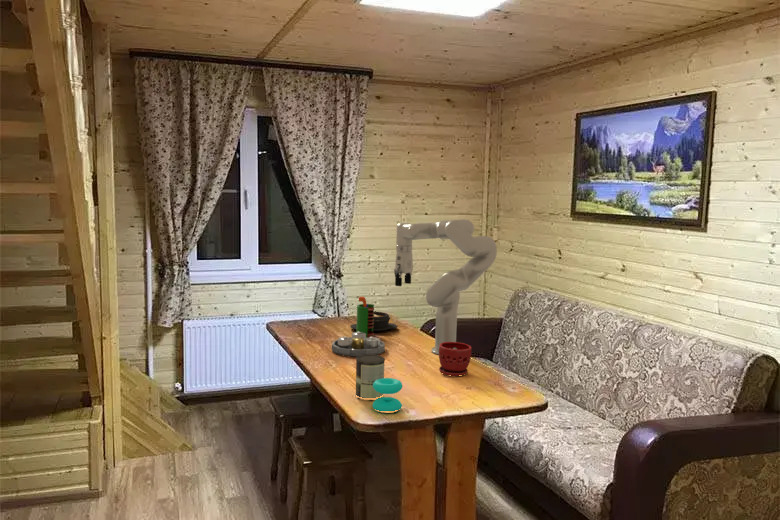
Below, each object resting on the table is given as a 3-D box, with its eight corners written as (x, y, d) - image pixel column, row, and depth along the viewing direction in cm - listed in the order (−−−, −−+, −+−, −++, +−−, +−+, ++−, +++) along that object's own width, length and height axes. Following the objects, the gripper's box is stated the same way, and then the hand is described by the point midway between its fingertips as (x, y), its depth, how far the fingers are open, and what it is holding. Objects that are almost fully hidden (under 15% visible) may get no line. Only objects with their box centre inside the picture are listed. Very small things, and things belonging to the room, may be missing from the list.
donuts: (408, 383, 223) (382, 387, 217) (407, 411, 224) (382, 416, 219) (392, 375, 231) (367, 379, 226) (391, 403, 232) (367, 407, 227)
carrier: (393, 348, 308) (394, 333, 308) (367, 360, 287) (368, 343, 286) (349, 341, 320) (349, 326, 319) (321, 352, 299) (321, 336, 298)
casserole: (354, 334, 334) (354, 318, 333) (346, 326, 352) (347, 311, 351) (401, 333, 341) (402, 317, 340) (392, 325, 359) (392, 310, 358)
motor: (373, 339, 325) (374, 299, 323) (355, 338, 326) (356, 298, 323) (374, 334, 335) (375, 295, 333) (356, 334, 336) (357, 295, 333)
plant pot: (444, 379, 262) (445, 349, 260) (433, 370, 274) (434, 341, 273) (475, 377, 265) (476, 348, 264) (463, 368, 278) (464, 340, 276)
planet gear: (382, 349, 302) (383, 338, 301) (374, 352, 295) (375, 341, 294) (368, 347, 305) (368, 336, 305) (360, 350, 298) (360, 339, 298)
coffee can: (349, 396, 238) (350, 358, 236) (368, 390, 246) (369, 353, 244) (371, 403, 232) (371, 363, 230) (389, 396, 240) (390, 358, 238)
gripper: (402, 251, 305) (401, 287, 307) (419, 248, 320) (418, 283, 322) (388, 249, 309) (387, 286, 311) (405, 247, 324) (404, 281, 326)
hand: (403, 284), depth 317 cm, fingers open, 9 cm apart
